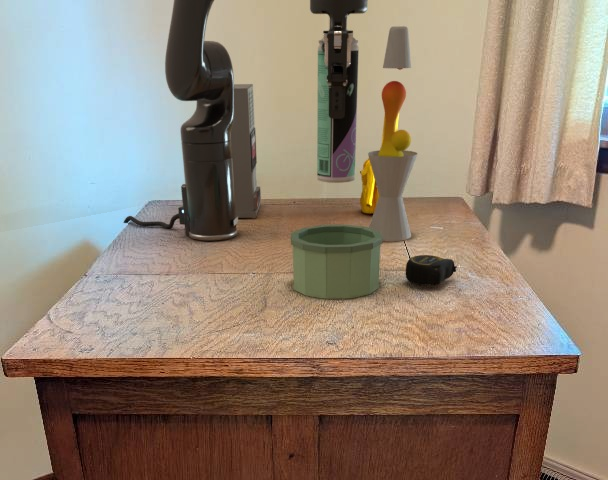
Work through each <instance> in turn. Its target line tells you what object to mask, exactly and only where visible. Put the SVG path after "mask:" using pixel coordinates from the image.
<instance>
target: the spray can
mask: <svg viewBox="0 0 608 480" xmlns="http://www.w3.org/2000/svg"><path fill="white" fill-rule="evenodd" d="M327 31H329V29H328V30H327ZM347 31H349V29H347ZM327 42H328V41H327ZM348 42H349V41H347V43H348ZM358 43H359V40H358V39H356V38H355V37H354V36H353V43H352V45H351V63H350V68H349V69H348V70H347V74H346V75H348V80H347V84H346V87H343V86H342V88H345V116H344V118H342V119H332V118H330V117H329V88H332V87H328V84H327V76H328V70H327V69H326V68H325V45H324V43H323V37H322V38H321V39H320V40H318V46H317V119H316V120H317V121H316V122H317V125H316V127H317V130H316V132H317V133H316V135H317V136H316V137H317V141H316V142H317V143H316V144H317V145H316V147H317V149H316V151H317V156H316V157H317V159H316V163H317V164H316V170H317V171H316V176H317V181H319V182H322V183H329V184H339V183H340V184H341V183H351V182H353V181H355V179H356V149H357V117H358V115H357V112H358V109H357V108H358V84H359V83H358V82H359V81H358V79H359V77H358V76H359V75H358V74H359V49H360V48H359V45H358ZM332 72H343V69H342V68H333V69H332Z"/></svg>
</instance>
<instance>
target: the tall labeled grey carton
mask: <svg viewBox="0 0 608 480" xmlns="http://www.w3.org/2000/svg"><path fill="white" fill-rule="evenodd" d="M254 101H255V100H254V85H253V83H234V122H233V126H232V130H231V145H232V161H233V178H234V195H235V212H236V218H237V217H238V219H245V218H246V219H252V220H253V219H254V220H255V219H256V218H257V216H258V212H259V210H260V206H261V199H262V196H261V186H258V175H257V164H258V161H257V136H256V135H257V134H256V127H255V124H256V123H255V105H254V104H255V102H254Z"/></svg>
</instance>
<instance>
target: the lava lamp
mask: <svg viewBox="0 0 608 480" xmlns="http://www.w3.org/2000/svg"><path fill="white" fill-rule="evenodd" d="M387 36H388V37H387V42H386V48H385V53H384V59H383V64H382V69H397V70H399V71H401V70H404V69H411V68H412V61H411V50H410V49H411V47H410V35H409V27H407V26H405V25H403V26H399V25H398V26H391V27H390V28H389V30H388V35H387ZM406 90H407V89H406V87H405V86H404V84H403V83H402V82H400V81H398V80H391V81H389V82H387V83H386V84H385V85H384V86H383V88H382V90H381V101H382V105H383V109H384V115H385V119H386V121H385V133H384V139H383V143H382V142H381V144H382V146H381V145H380V149H379V150H373V151H369V152H368V153H367V155H368V158H369V160H370V163H371V167H372V171H373V174H374V178H375V181H376V185H377V189H378V192H379V199H378V202H377V205H376V208H375V211H374V213H372V214H373V215H372V216H371V220H370V223H369V226H368V228H371V229H374V230H377V231H380V232H381V235H382V237H383V242H402V241H407V240H409V239H411V238H412V234H411V230H410V225H409V221H408V216H407V212H406V207H405V203H404V198H403V194H404V191H405V188H406V186H407V183H408V181H409V178H410V176H411V173H412V170H413V167H414V165H415V162H416V161H417V157H418V152H416V151H412V150H408V148H409V147H410V146H411V143H412V136H411V134H410V132H408V131H407V130H405V129H397V131H396V132H395V126H396V120H397V117H398V114H399V115H400V111H401V109H402V106H403V104H404V102H405V100H406V97H407V91H406Z"/></svg>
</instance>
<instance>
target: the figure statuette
mask: <svg viewBox="0 0 608 480" xmlns="http://www.w3.org/2000/svg"><path fill="white" fill-rule="evenodd" d="M399 116H400V113H399V114H398V117H397V120H396V126H395V132H396V131H398V128H399V127H398V125H399V118H400V117H399ZM385 121H386V119H385V114H384V115H383V126H382V135H381V145H380V147H381V146H382V143H383V139H384V133H385ZM359 173H360V176H361V178H360V179H361V182H362V183H361V189H362V191H361V194H360V198H359V199H360V200H359V204H360V208H361V212H362V213H364V214H374V211H375V208H376V205H377V202H378V199H379V192H378V189H377V185H376V181H375V178H374V174H373V171H372V167H371V163H370V160H369V157H368V158H367V159H366V160H365V161H364V162H363V166H362V170H361V171H359Z"/></svg>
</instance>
